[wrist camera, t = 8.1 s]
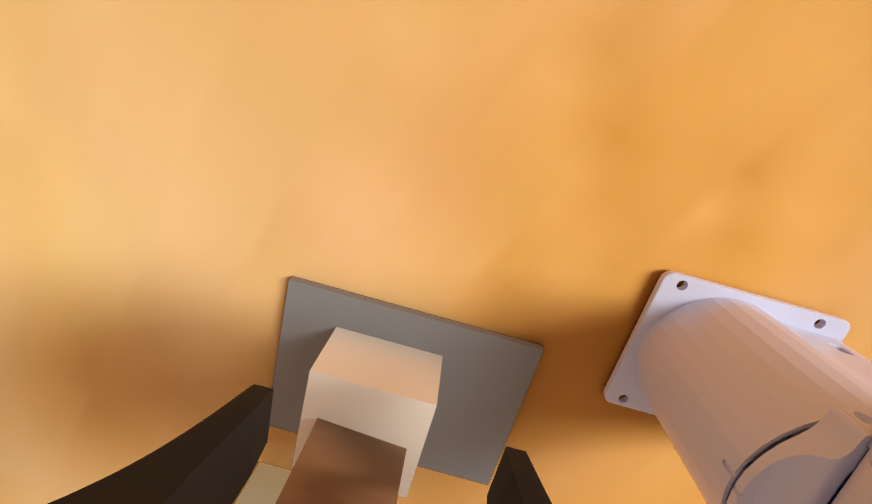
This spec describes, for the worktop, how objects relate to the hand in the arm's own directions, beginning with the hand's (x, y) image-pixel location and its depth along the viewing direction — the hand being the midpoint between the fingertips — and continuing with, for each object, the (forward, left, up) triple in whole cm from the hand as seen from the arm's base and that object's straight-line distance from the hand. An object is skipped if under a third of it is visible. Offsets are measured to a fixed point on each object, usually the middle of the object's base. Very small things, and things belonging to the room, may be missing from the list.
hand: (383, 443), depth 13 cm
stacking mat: (0, +6, -10) cm, 12 cm away
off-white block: (+1, +6, -10) cm, 12 cm away
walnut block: (+1, +8, -6) cm, 10 cm away
